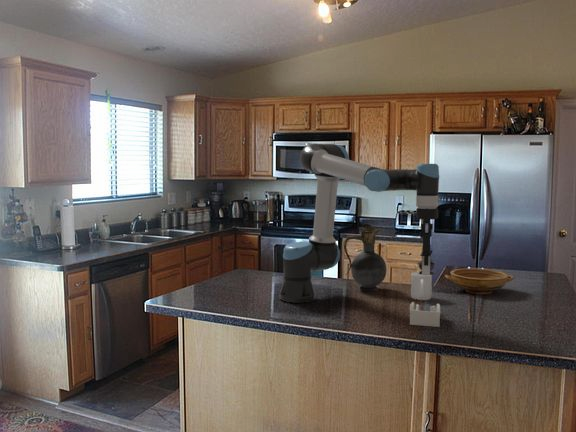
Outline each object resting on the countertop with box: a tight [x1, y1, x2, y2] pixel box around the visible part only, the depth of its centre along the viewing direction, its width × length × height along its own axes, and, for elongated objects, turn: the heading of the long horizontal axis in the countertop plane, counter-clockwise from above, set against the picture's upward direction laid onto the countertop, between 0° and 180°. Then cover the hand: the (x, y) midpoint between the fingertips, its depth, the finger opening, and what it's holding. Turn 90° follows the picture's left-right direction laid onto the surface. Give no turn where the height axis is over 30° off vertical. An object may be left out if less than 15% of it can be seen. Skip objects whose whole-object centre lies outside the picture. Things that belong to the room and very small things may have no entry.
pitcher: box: [343, 223, 388, 292], centre depth 233 cm, size 11×19×30 cm, turn 89°
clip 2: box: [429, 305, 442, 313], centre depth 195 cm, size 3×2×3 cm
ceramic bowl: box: [444, 267, 515, 295], centre depth 231 cm, size 30×24×8 cm
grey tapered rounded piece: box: [417, 243, 436, 276], centre depth 185 cm, size 6×6×12 cm
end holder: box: [409, 301, 441, 328], centre depth 186 cm, size 10×12×5 cm
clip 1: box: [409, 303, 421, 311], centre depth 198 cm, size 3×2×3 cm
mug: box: [410, 271, 433, 301], centre depth 217 cm, size 12×8×10 cm
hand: (426, 272), depth 186 cm, fingers closed on grey tapered rounded piece, 6 cm apart
